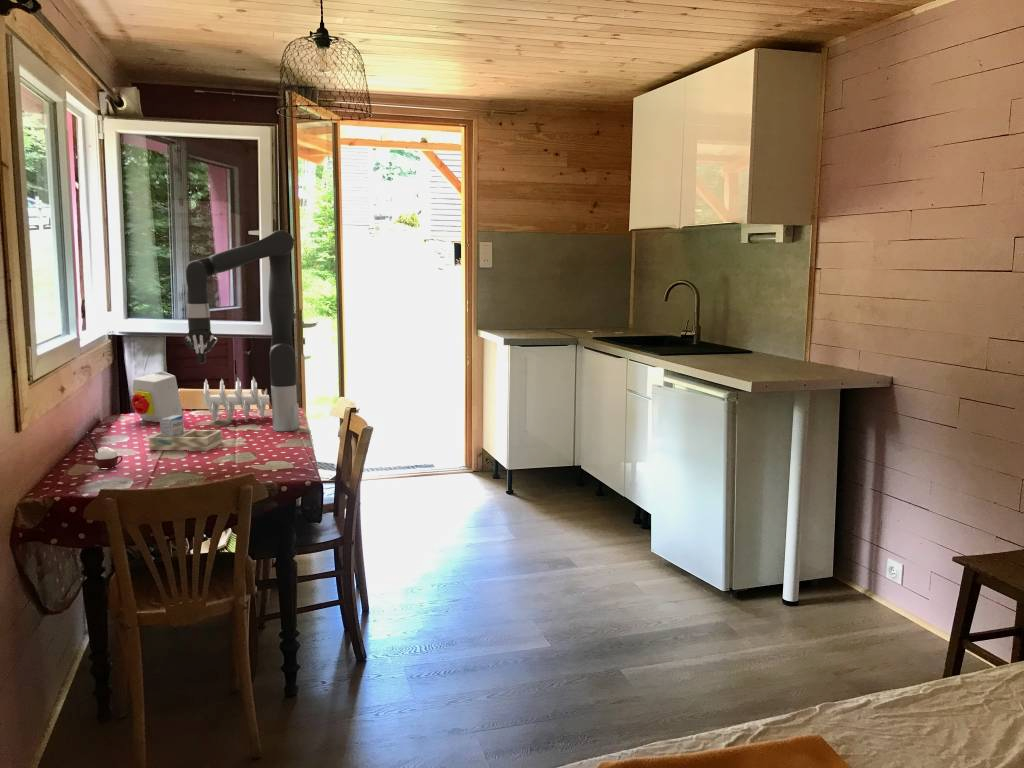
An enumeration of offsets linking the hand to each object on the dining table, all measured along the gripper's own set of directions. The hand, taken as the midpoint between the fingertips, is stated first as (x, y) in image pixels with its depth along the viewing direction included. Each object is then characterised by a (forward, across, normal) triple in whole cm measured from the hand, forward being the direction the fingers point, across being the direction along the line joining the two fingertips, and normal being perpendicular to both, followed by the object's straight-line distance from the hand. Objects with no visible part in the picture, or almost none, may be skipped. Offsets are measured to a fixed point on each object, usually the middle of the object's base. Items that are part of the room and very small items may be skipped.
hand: (201, 363), depth 294 cm
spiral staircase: (+27, -1, -28) cm, 39 cm away
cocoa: (+27, +11, +48) cm, 56 cm away
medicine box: (+26, +4, +18) cm, 31 cm away
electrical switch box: (+27, +32, -25) cm, 49 cm away
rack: (+27, -1, +18) cm, 32 cm away
